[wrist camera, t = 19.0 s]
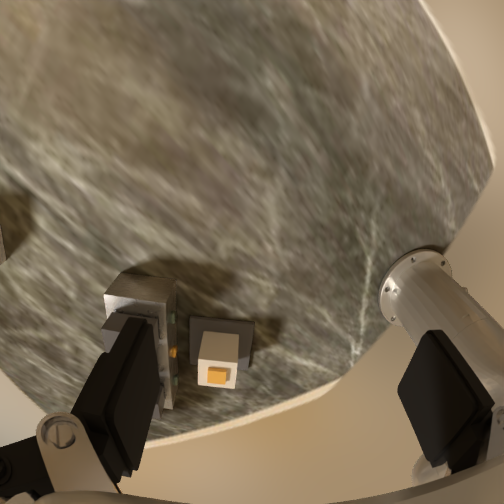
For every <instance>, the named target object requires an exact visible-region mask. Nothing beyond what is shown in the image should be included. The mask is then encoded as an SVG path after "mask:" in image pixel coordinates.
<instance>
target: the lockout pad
mask: <svg viewBox="0 0 504 504" xmlns="http://www.w3.org/2000/svg"><path fill="white" fill-rule="evenodd" d="M254 325H255V323H254V322H247V321H236V320H226V319H217V318H208V317H199V316H191V315H190V364H191V365H198V357H199V352H200V347H201V342H202V337H203V332H204V331H209V332H219V333H229V334H239V345H238V364H237V370H248V365H249V358H250V352H251V345H252V338H253V332H254Z"/></svg>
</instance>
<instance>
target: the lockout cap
mask: <svg viewBox="0 0 504 504" xmlns="http://www.w3.org/2000/svg"><path fill="white" fill-rule="evenodd" d="M238 345H239V334H229V333H219V332H209V331H204V332H203V337H202V342H201V347H200V352H199V357H198V385H203V386H212V387H222V388H233V389H235V381H236V373H237V364H238Z"/></svg>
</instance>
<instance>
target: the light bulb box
mask: <svg viewBox="0 0 504 504" xmlns="http://www.w3.org/2000/svg"><path fill="white" fill-rule="evenodd" d="M5 261H6V255H5V250H4V244H3V238H2V232H1V226H0V265H1V264H2V263H3V262H5Z"/></svg>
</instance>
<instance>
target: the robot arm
mask: <svg viewBox="0 0 504 504" xmlns="http://www.w3.org/2000/svg"><path fill="white" fill-rule="evenodd" d="M378 303H379V307H380V310H381V312H382V314H383V315H384V317H385V318H386V319H387V320H388V321H389V322H390V323H392V324H394V325H396V326H400V327H404V328H405V329H406V331H407V332H408V334H409V336H410V337H411V339H412V340H413V342H414V343H415V345H416V346H417V348H416V351H415V353H414V355H413V357H412V359H411V361H410V363H409V365H408V368H407V369H406V372H405V373H404V375H403V378H402V379H401V381H400V383H399V385H398V395H399V397H400V399H401V402H402V404H403V406H404V409H405V411H406V413H407V415H408V418H409V420H410V422H411V424H412V427H413V429H414V431H415V434H416V436H417V438H418V441H419V443H420V446H421V448H422V451H423V454H422V455H421V457H420V458H419V459H418V460H417V462H416V463H415V465H414V468H413V471H412V485H413V487H411V488H407V489H403V490H399V491H395V492H391V493H387V494H382V495H378V496H373V497H368V498H362V499H357V500H350V501H344V502H337V503H329V504H504V329H503V328H502V327H501V326H500V324H499V323H498V322H497V321H496V320H495V319H494V318H493V317H492V316H491V315H490V314H489V313H488V312H487V311H486V310H485V309H484V308H483V307H482V306H481V305H480V304H479V303H478V302H477V301H476V300H475V299H474V298H473V297H472V296H470V295H469V294H468V290H467V288H463V287H461V286H460V285H459V284H458V283H457V282H455V280H453V279H452V271H451V267H450V265H449V263H448V261H447V260H446V259H445V258H444V257H443V256H442V255H441V254H440V253H438V252H436V251H434V250H430V249H419V250H415V251H412V252H410V253H408V254H406V255H404V256H403V257H401V258H400V259H399V260H397V261H396V262H395V263H394V264H393V265H392V266H391V268H390V269H389V270H388V272H387V273H386V275H385V277H384V278H383V280H382V283H381V286H380V289H379V295H378ZM159 391H160V377H159V370H158V363H157V356H156V349H155V341H154V332H153V326H152V324H149V323H148V322H147V320H146V319H145V318H137V317H128V319H127V320H126V322H125V324H124V326H123V328H122V329H121V331H120V333H119V335H118V337H117V339H116V340H115V342H114V344H113V346H112V348H111V350H110V352H109V353H106V352H104V353H102V354H101V355H100V357H99V358H98V360H97V362H96V364H95V366H94V368H93V370H92V372H91V373H90V375H89V377H88V379H87V381H86V383H85V385H84V387H83V389H82V391H81V393H80V395H79V397H78V399H77V401H76V403H75V405H74V407H73V409H72V411H71V413H68V412H54V413H51V414H49V415H46V416H45V417H44V418H43V419H42V420H41V421H40V423H39V424H38V426H37V429H36V436H33V437H30V438H27V439H24V440H21V441H18V442H15V443H12V444H9V445H6V446H3V447H0V504H187V503H179V502H172V501H165V500H158V499H153V498H146V497H139V496H133V495H128V494H123V493H122V492H121V490H120V488H119V487H118V485H117V483H119V482H120V480H121V476H126V477H131V475H132V471H133V470H136V471H137V470H138V468H139V464H140V461H141V457H142V453H143V449H144V445H145V442H146V438H147V434H148V430H149V427H150V423H151V419H152V416H153V412H154V408H155V405H156V401H157V398H158V394H159Z"/></svg>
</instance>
